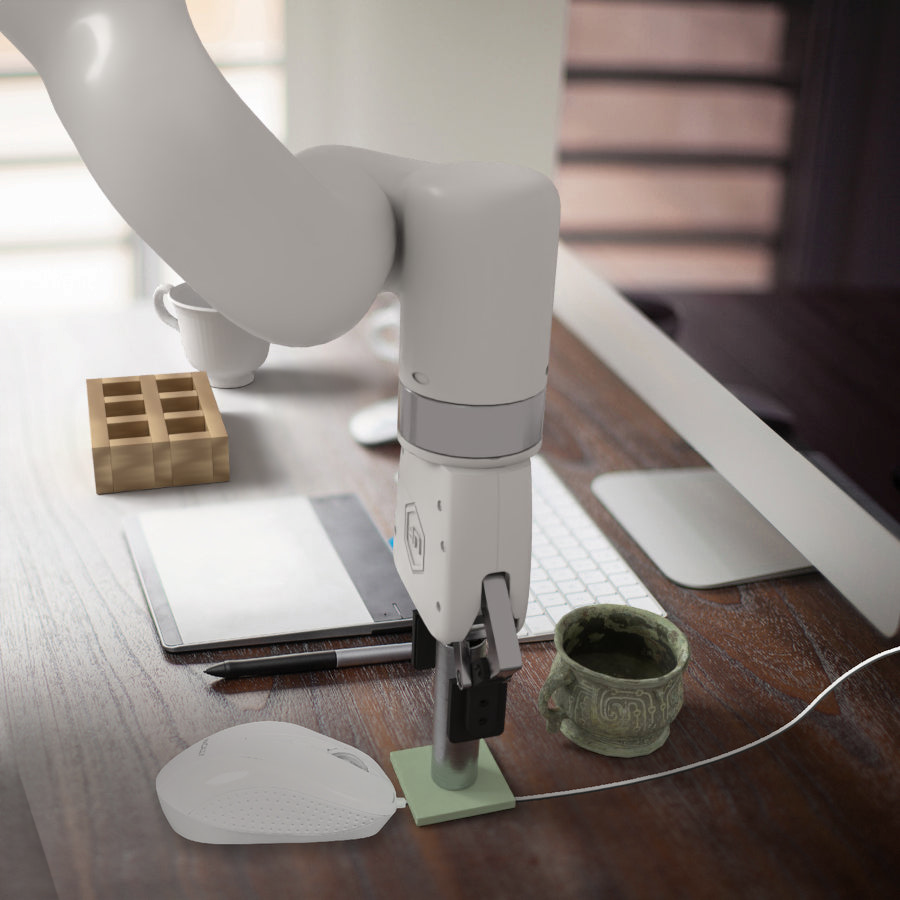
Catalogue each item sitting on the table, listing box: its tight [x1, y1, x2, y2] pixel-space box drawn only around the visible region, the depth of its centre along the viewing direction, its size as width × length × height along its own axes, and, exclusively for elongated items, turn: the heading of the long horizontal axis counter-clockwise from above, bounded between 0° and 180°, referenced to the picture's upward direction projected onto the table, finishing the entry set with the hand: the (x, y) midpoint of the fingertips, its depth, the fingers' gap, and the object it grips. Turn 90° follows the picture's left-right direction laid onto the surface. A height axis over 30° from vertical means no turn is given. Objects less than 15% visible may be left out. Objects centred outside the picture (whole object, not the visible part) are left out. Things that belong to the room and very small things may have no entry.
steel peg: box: [431, 615, 487, 791], centre depth 66 cm, size 3×3×11 cm
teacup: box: [152, 281, 271, 389], centre depth 125 cm, size 12×15×10 cm
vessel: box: [537, 602, 692, 759], centre depth 73 cm, size 12×9×6 cm
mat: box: [389, 738, 517, 827], centre depth 68 cm, size 6×6×1 cm
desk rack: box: [85, 370, 231, 495], centre depth 108 cm, size 12×17×4 cm
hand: (455, 696), depth 66 cm, fingers open, 6 cm apart
